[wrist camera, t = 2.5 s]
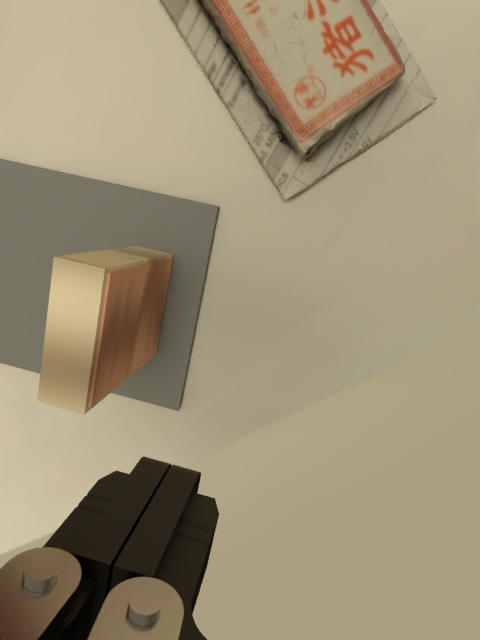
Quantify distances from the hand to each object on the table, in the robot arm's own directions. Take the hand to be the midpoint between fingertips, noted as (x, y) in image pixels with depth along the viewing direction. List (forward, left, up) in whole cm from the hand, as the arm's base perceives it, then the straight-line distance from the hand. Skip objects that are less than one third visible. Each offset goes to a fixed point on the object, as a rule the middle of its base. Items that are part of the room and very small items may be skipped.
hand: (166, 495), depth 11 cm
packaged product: (-18, -3, -20) cm, 27 cm away
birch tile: (0, -7, -19) cm, 20 cm away
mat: (0, -13, -19) cm, 23 cm away
